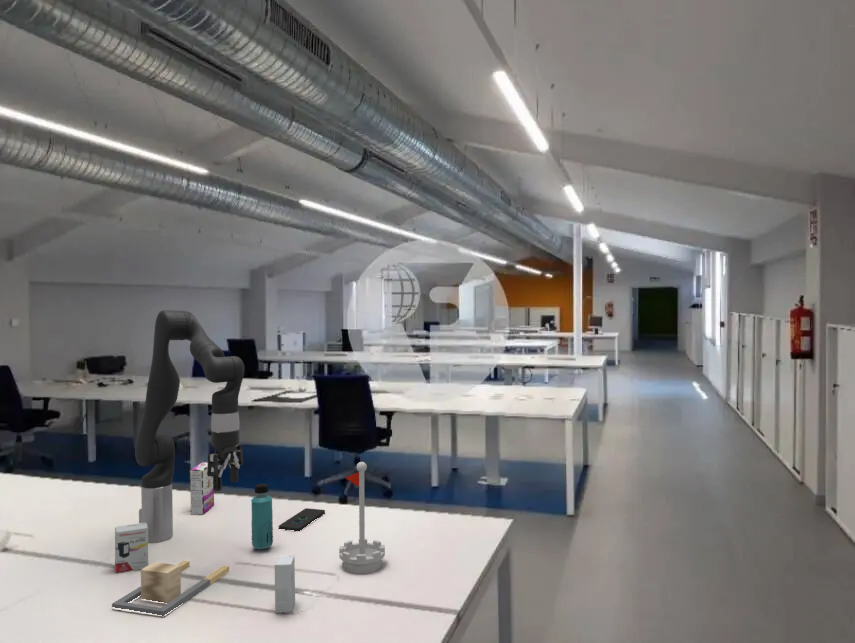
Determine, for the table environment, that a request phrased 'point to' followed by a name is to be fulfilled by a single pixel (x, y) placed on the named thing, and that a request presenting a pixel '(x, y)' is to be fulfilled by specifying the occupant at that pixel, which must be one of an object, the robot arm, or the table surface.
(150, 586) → the wooden block
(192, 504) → the candy bar box
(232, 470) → the robot arm
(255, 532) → the beverage bottle
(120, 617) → the table surface
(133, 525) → the ink box
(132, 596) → the rail bay
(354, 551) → the flag stand
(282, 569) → the skincare box
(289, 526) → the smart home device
